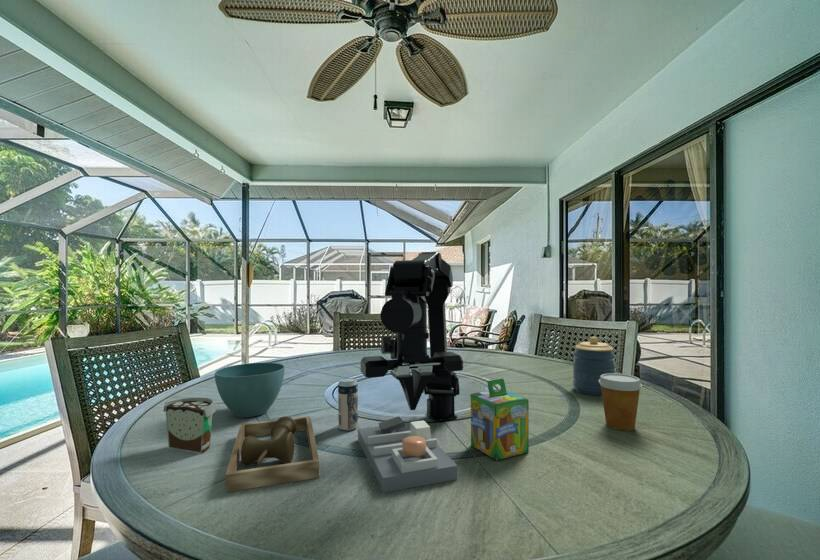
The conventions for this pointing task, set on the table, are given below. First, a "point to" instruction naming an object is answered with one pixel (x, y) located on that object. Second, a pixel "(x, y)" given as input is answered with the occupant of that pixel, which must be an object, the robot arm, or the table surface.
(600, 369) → the canister
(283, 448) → the kendama
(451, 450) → the table surface
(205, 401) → the food container
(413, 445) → the push button
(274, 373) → the teal bowl
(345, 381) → the beer can
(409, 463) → the panel
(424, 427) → the slider knob
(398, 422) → the rocker switch
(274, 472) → the tray
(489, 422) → the chalk box
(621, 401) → the disposable coffee cup
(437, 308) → the robot arm
